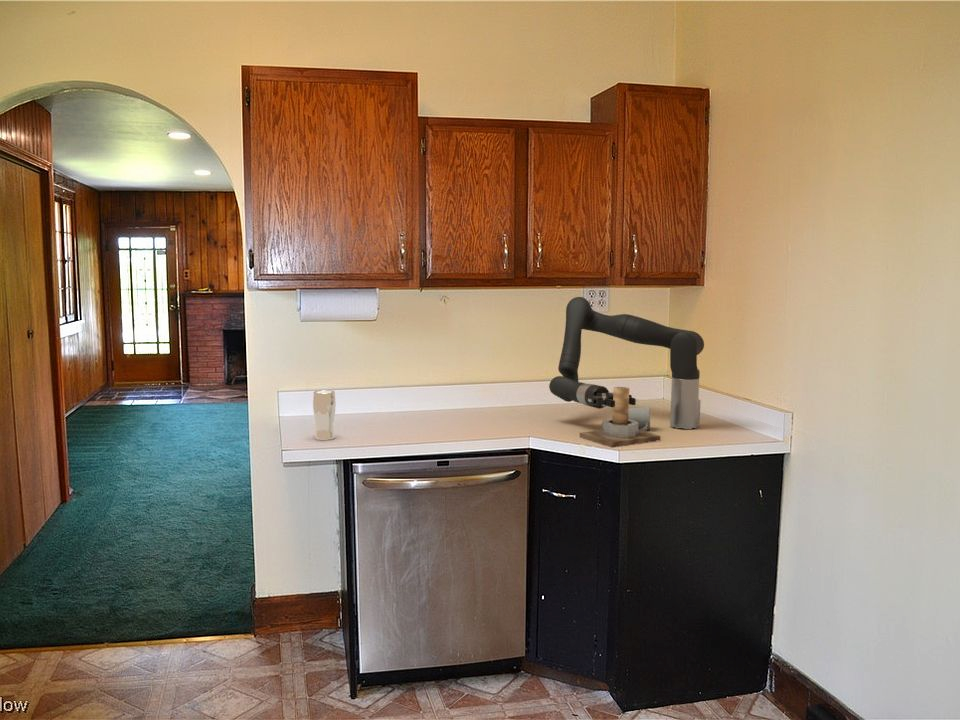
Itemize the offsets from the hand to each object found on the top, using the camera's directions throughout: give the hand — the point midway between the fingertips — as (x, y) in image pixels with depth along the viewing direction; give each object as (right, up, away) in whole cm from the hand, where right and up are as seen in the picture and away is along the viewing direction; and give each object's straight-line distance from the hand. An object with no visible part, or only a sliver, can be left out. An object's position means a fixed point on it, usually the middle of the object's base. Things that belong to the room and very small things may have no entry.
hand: (624, 403), depth 252 cm
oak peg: (-1, -10, +3) cm, 11 cm away
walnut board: (-1, -12, +3) cm, 12 cm away
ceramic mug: (+8, -10, +17) cm, 22 cm away
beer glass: (-96, -11, +1) cm, 96 cm away
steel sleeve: (-1, -10, +3) cm, 11 cm away
